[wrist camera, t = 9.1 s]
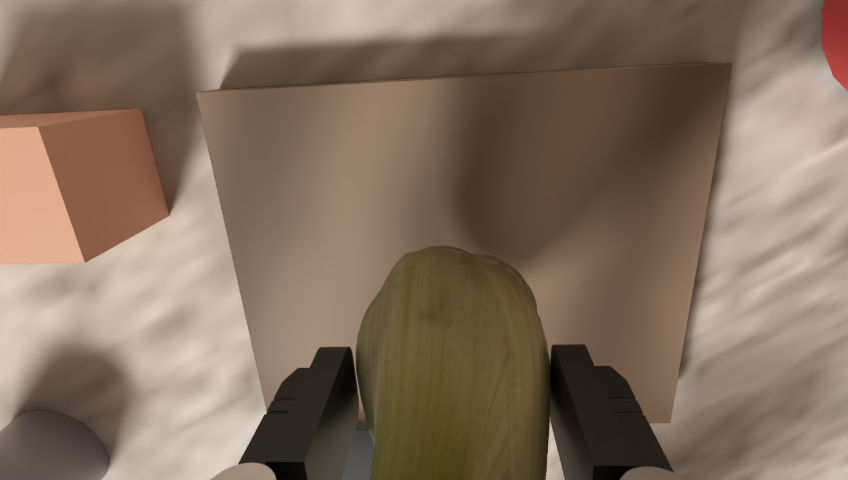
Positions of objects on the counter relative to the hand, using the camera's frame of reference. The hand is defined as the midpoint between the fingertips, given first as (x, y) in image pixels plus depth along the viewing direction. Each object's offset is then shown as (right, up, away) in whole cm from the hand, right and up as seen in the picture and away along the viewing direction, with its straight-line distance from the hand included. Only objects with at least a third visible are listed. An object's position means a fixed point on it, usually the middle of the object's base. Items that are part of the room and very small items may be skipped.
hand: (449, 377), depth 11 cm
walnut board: (+1, +3, +6) cm, 7 cm away
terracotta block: (-13, +6, +6) cm, 16 cm away
